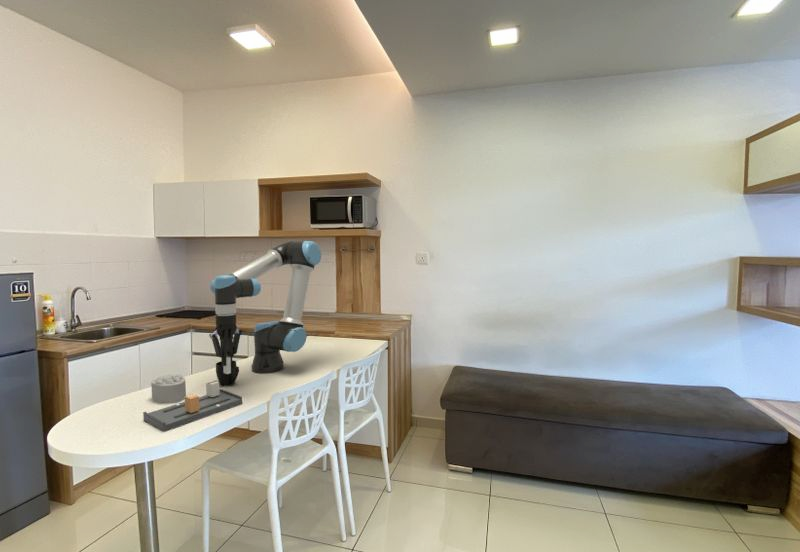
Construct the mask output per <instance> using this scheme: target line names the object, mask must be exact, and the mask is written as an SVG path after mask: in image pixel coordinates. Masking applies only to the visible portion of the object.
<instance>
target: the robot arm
mask: <svg viewBox="0 0 800 552" xmlns="http://www.w3.org/2000/svg"><path fill="white" fill-rule="evenodd" d="M321 261H322V252H321V248H320V245H319V244H317V242H314V241H312V240H311V241H309V240H304V241H303V240H298V241H297V240H295V241H293V240H292V241H291V240H290V241H285V242H283V243H281V244H278V245H276V246H275V247H273V248H271V249H269V250H267V252H266V254H264V255H262V256H261V257H259V258H257V259H255V260H254V261H251V262H250V263H247V264H246V265H244V266H242V267H241V268H239V269H237V270H235V271H233V272H231V273H230V274H228V275H227V274H226V275H217V276H215V278H214V279H213V280H212V281H211V282H210V286H209V288H210V290H211V293H213V294H214V302H215V304H214V305H215V307H214V308H215V329H214V332H212V333H210V334H209V338H210V339H211V341H212V346H213V348H214V352H215V356H216V357H218V358H220V360H221V361H220V362H221V364H222V366H223V371H224V373H225V374H230V373H231V364H232V360H233V357H234V355H237V354H238V349H239V343H240V339H241V335H242V334H243V330H242V329H239V328H238V326H237V315H236V313H237V299H240V298H242V299H243V298H252V297H256V296H258V295H259V294H260V293H261V290H262V288H261V287H262V285H261V282H260V281H259V280H258V279H257V278H259V277H262V276H263V275H265V274H266V273H268V272H269V271H272V270H273V269H275V268H277V269H278V268H280V267H282V266H285V265H289V267H290V269H291V270H292V271H291V273H290V274H291V276H290V281H289V285H288V290H287V294H286V295H287V296H286V299H285V306H284V311H283V317H282V318H281V319H280V320H273V321H266V322H259V323H257V324H255V325H254V327H253V328H254V329H253V338H254V340H253V341H254V342H253V343H254V356H253V359H252V364H251V372H252V373H256V374H270V373H275V372H278V371H281V370H283V369H284V368H285V363H284V358H283V357H282V355H281V351H283V352H286V353H287V352H288V353H289V352H291V353H295V352H298V351H300V350H301V349H302V348H303V347H304V346H305V344H306V342H307V338H308V336H307V333H306V332H307V331H306V330H305V328H304V323H303V322H302V317H303V312H304V307H305V302H306V301H305V300H306V297H307V291H308V287H309V280H310V275H311V273H312V272H313V271H314V270H315V266H317V265H319V263H320V262H321ZM218 337H219V338H218ZM219 341H220V342H219Z"/></svg>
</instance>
